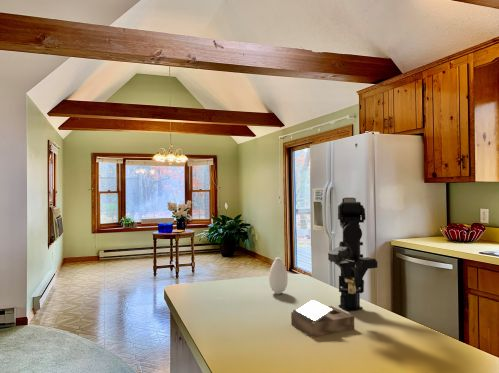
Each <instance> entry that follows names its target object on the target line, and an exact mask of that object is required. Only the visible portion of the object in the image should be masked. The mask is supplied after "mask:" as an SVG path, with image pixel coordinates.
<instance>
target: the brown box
mask: <svg viewBox="0 0 499 373" xmlns="http://www.w3.org/2000/svg"><path fill="white" fill-rule="evenodd" d="M327 307H329V308H331V309H332V310H333V311H332V312H330V313H329V314H327V315H326V316H324V317H323V318H321V319H320V320H318V321H317V322H314V321H312V319H311V318H309V317H307V316H306V315H304V314H302V313H300V312H298V311H296V310H297V309H293V310H292V311H290V312H291V313H290V314H291V315H290V316H291V317H290V319H291V320H290V321H291V322H290V324H291V326H293V327H295V328H297V329H298V330H300V331H301V332H303V333H305V334H306V335H308V336H309V337H311V338H313V337H315V338H316V337H320V336H324V335H330V334H335V333H340V332H347V331H351V330H355V316H354V315H352V314H350V313H348V312H346V311H343V310H341V309H339V308H337V307H334V306H333V305H329V306H327Z"/></svg>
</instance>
